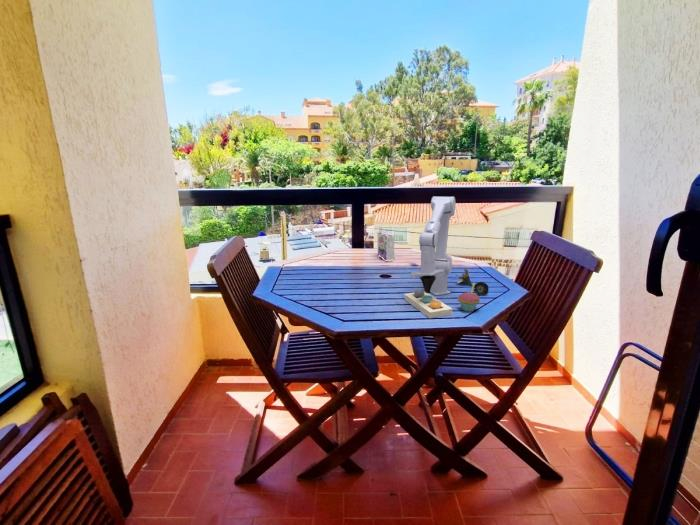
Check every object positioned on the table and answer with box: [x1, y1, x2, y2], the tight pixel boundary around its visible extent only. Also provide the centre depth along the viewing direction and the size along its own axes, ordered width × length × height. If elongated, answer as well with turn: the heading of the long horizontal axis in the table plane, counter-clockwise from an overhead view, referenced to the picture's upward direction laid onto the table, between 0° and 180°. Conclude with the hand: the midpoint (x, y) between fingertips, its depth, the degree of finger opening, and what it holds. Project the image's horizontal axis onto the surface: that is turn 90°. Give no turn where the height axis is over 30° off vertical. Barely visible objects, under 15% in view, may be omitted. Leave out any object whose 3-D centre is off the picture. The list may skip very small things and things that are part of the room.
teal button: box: [422, 295, 433, 304], centre depth 165 cm, size 4×4×3 cm
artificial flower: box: [455, 268, 489, 297], centre depth 186 cm, size 9×22×10 cm, turn 3°
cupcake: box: [457, 281, 480, 312], centre depth 160 cm, size 9×8×12 cm
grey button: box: [413, 289, 424, 298], centre depth 171 cm, size 4×4×3 cm
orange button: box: [430, 300, 442, 310], centre depth 159 cm, size 4×4×3 cm
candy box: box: [377, 230, 395, 260], centre depth 242 cm, size 14×6×16 cm, turn 17°
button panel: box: [403, 290, 453, 319], centre depth 165 cm, size 23×10×2 cm, turn 18°
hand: (427, 292), depth 164 cm, fingers closed
